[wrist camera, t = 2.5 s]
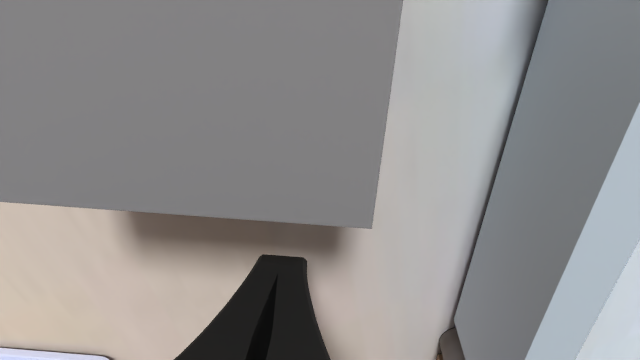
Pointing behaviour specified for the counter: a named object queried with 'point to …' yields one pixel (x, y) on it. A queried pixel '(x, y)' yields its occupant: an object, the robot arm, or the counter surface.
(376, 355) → the counter surface
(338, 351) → the counter surface
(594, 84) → the door
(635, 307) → the counter surface
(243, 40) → the doorstop block
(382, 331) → the counter surface
